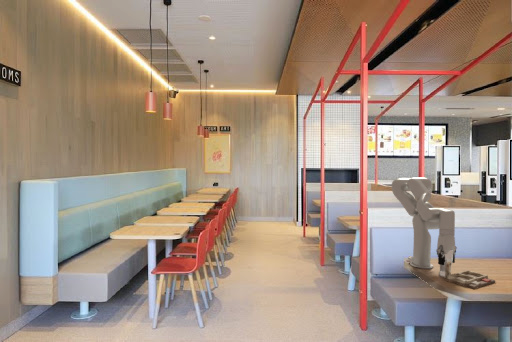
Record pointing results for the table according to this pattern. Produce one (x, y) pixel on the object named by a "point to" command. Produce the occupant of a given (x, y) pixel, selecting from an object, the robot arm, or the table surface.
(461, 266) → the table surface
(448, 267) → the silver piece
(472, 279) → the divided sorting tray
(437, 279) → the table surface
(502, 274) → the table surface
